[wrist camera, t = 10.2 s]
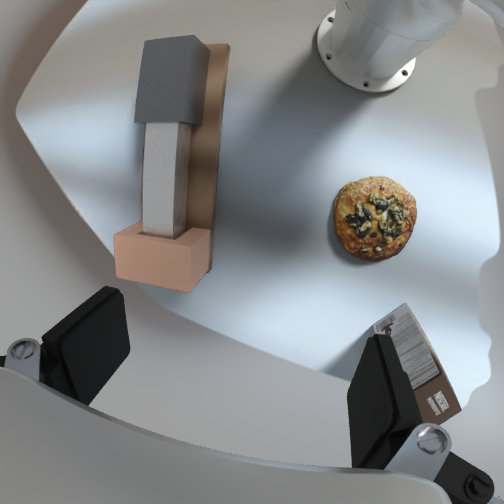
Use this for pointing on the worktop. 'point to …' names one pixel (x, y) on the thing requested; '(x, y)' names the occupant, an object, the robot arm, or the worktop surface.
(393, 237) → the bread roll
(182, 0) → the worktop surface
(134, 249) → the socket block
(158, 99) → the sleeve
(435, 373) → the coffee box
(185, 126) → the light grey bar
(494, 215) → the worktop surface
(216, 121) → the base board
